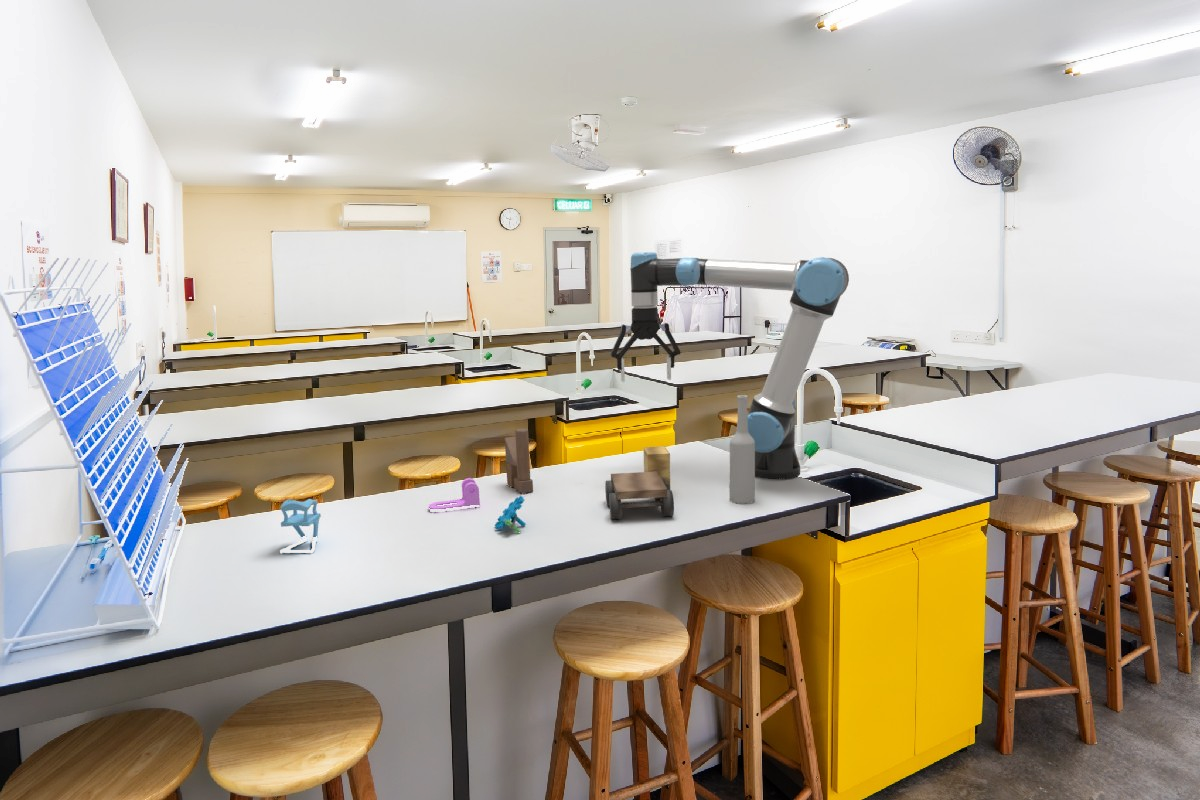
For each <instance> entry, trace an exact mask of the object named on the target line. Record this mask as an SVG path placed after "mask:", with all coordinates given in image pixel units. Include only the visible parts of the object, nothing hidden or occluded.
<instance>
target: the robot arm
mask: <svg viewBox="0 0 1200 800" xmlns="http://www.w3.org/2000/svg"><path fill="white" fill-rule="evenodd" d="M657 255H658V254H657V252H653V251H652V252H650V251H649V252H634V253H632V254H631V256H630V287H631V288H630V290H631V291H630V292H631V294H630V295H631V306H632V307H633V308H632V309H631V324H630V325H628V324H621V325H620V332H619V335H618V337H617V339H616V341H615V342H614V346H613V347H612V350H611V351H610V356H611V358H615V359H616V368H617V370H618V371H620V381H621V382H622V383H624V382H626V379H625V373H626V372H625V358H623V357H624V356H625V354H627V352H628V351H629V349H631V348H632V345H634V343H635V342H636V341H637V340H640V341H644V340H653V339H654V340H655V341H656V342H657V343H658V344H659V345H660V347H662V349H663V350H664V351H665V352H666V353H667V355H668V356H666V379H667V380H670V381H671V380H672V368H673V369H674V368H675V357H676V356H678V355H681V354H682V352H681V350H680V348H679V346H678V345H677V342H676V340H675V338H674V336H673V335H672V333H671V329H670V325H669V323H668V322H664V323H659V309H658V307H656V306H658V303H659V302H658V287H662V286H664V287H665V286H671V287H672V286H673V287H674V286H677V287H678V286H679V287H680V286H683V287H688V286H695V285H696V286H697V285H700V286H718V287H719V286H720V287H731V288H743V289H744V288H746V289H747V288H748V289H759V290H760V289H762V290H774V291H775V290H776V291H788V292H792V294H791V297H790V298H789V304H790V307H791V310H792V311H791V314H790V317H789V319H788V322H787V325H786V327H785V329H784V332H783V335H782V336H781V339H780V340H781V341H780V342H779V345H778V349H777V350H776V354H775V356H774V359H773V362H772V364H771V366H770V369H769V372H768V375H767V378H766V380H765V383H764V386H763V388H762V391H761V392H759V393H757V394H755V395H754V396H753V399H752V401H751V404H750V406H749V410H748V411H747V422H748V432H749V434H750V435H751V437H752V438H753V439H754V441H755V478H759V479H763V480H775V481H777V480H791V479H795V478H798V477H799V476H800V475H801V464H800V461H799V459H798V455H797V454H798V453H797V452H796V447H795V443H796V442H795V439H796V410H797V407H796V400H795V398H796V394H797V391H798V389H799V387H800V384H801V382H802V379H803V376H804V373H805V372H806V368H807V366H808V363H809V361H810V358H811V356H812V354H813V351H814V348H815V345H816V343H817V340H818V337H819V335H820V334H821V330H822V327H823V325H824V323H825V321H826V320H828V319H830V318H832V317H833V316H834V314H835V311H836V308H837V307H838V304H839V301H840V298H841V296H842V295H843V294H844V293H845V292H846V290H847V288H848V286H849V282H850V276H849V275H850V274H849V271H848V269H847V267H846V266H845V265H844V263H842V261H840V260H838V259H835V258H832V257H823V256H821V257H815V258H812V259H810V260H808V259H799V260H798V261H796V263H793V262H792V263H791V262H790V263H789V262H777V261H776V262H772V261H754V260H753V261H752V260H750V261H749V260H737V259H735V260H734V259H732V260H731V259H716V258H715V259H714V258H713V259H712V258H699V257H698V258H697V257H679V258H676V257H675V258H658V256H657ZM660 329H661V331H663V332H664V333H665V336H666V337H667V340H668V341H669V343H670V346H671V347H672V349H673V351H672V349H671V348H670V347H669V345H667V344H666V343H665V342H664V341H663V339H662V338H661V337H660V336H659V334H658V331H660ZM629 330H630V331H631V332H632V333H633V334H632V335H631V336H630V338H629V339H628V341H626V343H625V344H624V346H623V347H622V348H621V349H620V346H621V344H622V342H623V340H624V337H625V336H626V333H628V332H629ZM619 349H620V351H619ZM618 351H619V352H618Z"/></svg>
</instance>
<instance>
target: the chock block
mask: <svg viewBox="0 0 1200 800" xmlns="http://www.w3.org/2000/svg"><path fill="white" fill-rule="evenodd" d="M670 456H671V454H670V452H669V449H668V448H667V447H666V446H665V445H664V446H663V445H662V446H648V447H646V446H644V447H643V472H655V471H657V472H658V474H659V476H660V478H664V479H665V483H666V488H667V490H671V457H670Z"/></svg>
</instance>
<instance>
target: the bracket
mask: <svg viewBox="0 0 1200 800" xmlns="http://www.w3.org/2000/svg"><path fill="white" fill-rule="evenodd" d="M461 493H462V495H461V496H462V497H461V498H458V499H451V500H443V501H436V502H432V503H430V504H428V509H429V508H430V509H446V508H453V507H462V506H470V505H480V506H481V504H480V503H481V500H480V488H479V486H478V485H477V483H476V481H475V480H474V478H471V477H468V478H465V479H464V480H463V481H462V483H461ZM450 503H457V504H452V505H444V506H437V505H443V504H450Z"/></svg>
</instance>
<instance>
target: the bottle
mask: <svg viewBox="0 0 1200 800" xmlns="http://www.w3.org/2000/svg"><path fill="white" fill-rule="evenodd" d="M748 397H749V396H748V395H747V394H746V395H745V394H739V395H737V396H736V398H737V420H736V423H737V424H736V432H735V433H734V435H733V436H732V437H731V439H730V440H729V483H728V484H729V487H728V489H729V491H728V492H729V496H728V497H729V502H731V501H732V502H731V503H733V502H735V503H734V504H737V503H738V504H739V503H741V504H740V505H746V504H745V503H749V504H752V503H755V501H756V497H755V496H756V495H755V494H756V477H755V441H754V439H753V438H752V437H751V435H750V434H749V432H748V422H747V414H748ZM751 502H752V503H751Z"/></svg>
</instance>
